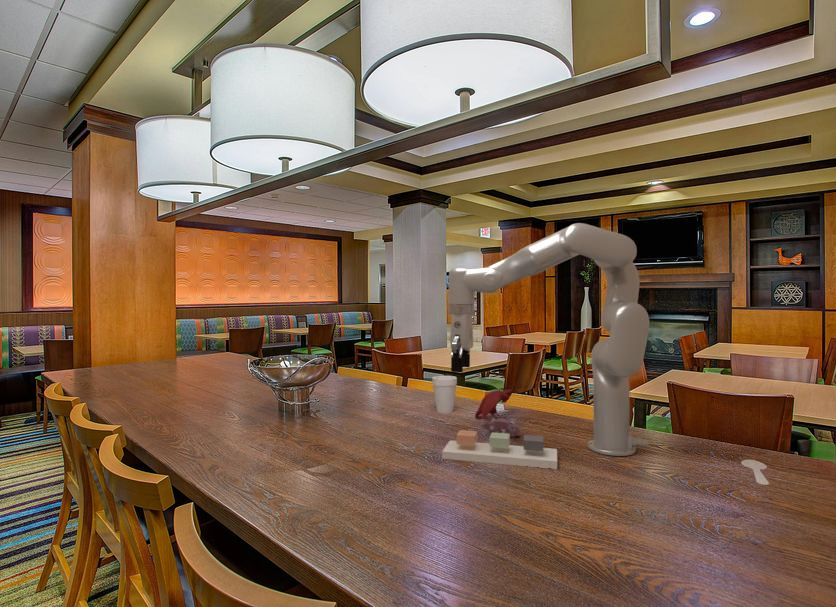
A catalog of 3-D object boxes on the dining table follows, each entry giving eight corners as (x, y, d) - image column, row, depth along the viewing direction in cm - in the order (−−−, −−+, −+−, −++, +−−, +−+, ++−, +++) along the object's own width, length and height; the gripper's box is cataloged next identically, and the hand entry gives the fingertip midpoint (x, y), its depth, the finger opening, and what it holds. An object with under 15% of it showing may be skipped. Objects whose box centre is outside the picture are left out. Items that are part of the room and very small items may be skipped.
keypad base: (557, 456, 127) (556, 448, 127) (557, 469, 117) (557, 461, 117) (450, 447, 135) (450, 440, 135) (442, 458, 126) (442, 451, 126)
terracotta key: (477, 440, 131) (477, 431, 131) (474, 445, 126) (474, 436, 126) (460, 438, 132) (460, 430, 132) (456, 444, 127) (456, 435, 127)
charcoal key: (543, 445, 126) (543, 436, 125) (543, 451, 121) (543, 441, 121) (524, 443, 127) (524, 434, 127) (523, 449, 122) (523, 440, 122)
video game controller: (488, 439, 148) (484, 422, 145) (492, 429, 151) (488, 412, 148) (518, 443, 143) (515, 426, 140) (522, 433, 147) (519, 416, 144)
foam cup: (428, 410, 180) (428, 376, 180) (449, 407, 184) (449, 374, 184) (439, 415, 172) (439, 380, 171) (461, 412, 175) (461, 378, 175)
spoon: (749, 484, 108) (749, 481, 108) (739, 459, 124) (739, 457, 124) (778, 488, 106) (778, 485, 106) (763, 463, 122) (763, 461, 122)
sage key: (509, 442, 128) (509, 433, 128) (508, 448, 123) (508, 439, 123) (491, 441, 129) (491, 432, 129) (489, 446, 125) (489, 437, 125)
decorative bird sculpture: (475, 442, 154) (505, 412, 149) (456, 421, 157) (485, 390, 152) (499, 421, 179) (525, 395, 175) (482, 403, 182) (507, 377, 178)
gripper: (468, 311, 125) (467, 374, 125) (479, 310, 141) (479, 365, 142) (441, 311, 127) (440, 373, 127) (455, 309, 144) (455, 364, 144)
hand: (460, 369), depth 135 cm, fingers open, 9 cm apart
